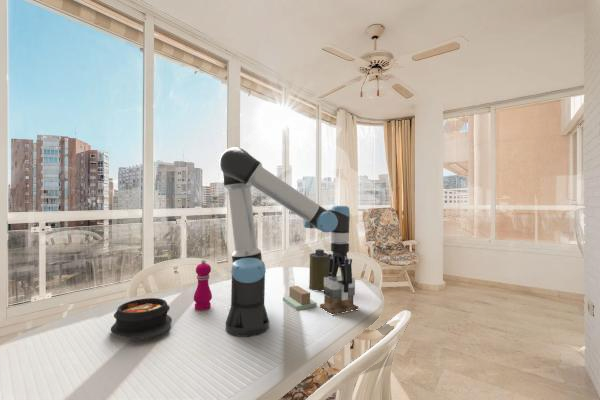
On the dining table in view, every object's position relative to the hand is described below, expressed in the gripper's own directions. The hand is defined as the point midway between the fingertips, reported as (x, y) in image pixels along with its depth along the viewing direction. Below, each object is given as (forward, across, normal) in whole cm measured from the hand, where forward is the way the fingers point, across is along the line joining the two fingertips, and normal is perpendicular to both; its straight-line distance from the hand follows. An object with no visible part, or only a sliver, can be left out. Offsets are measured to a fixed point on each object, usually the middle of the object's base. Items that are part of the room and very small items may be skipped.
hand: (339, 296), depth 125 cm
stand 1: (+5, +13, +12) cm, 18 cm away
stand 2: (+5, 0, 0) cm, 5 cm away
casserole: (+5, +13, +73) cm, 74 cm away
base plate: (-1, 0, 0) cm, 1 cm away
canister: (+5, +29, -8) cm, 31 cm away
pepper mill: (+5, +25, +51) cm, 57 cm away
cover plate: (-4, 0, 0) cm, 4 cm away
